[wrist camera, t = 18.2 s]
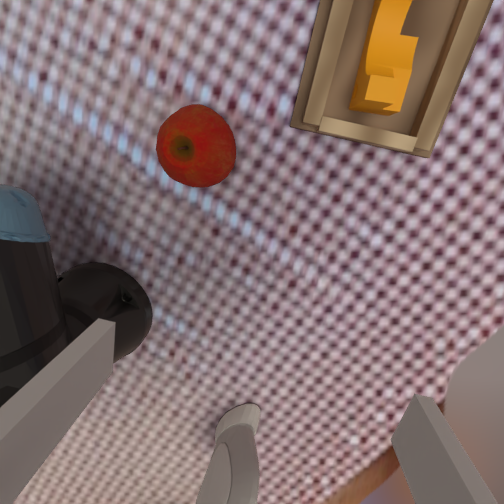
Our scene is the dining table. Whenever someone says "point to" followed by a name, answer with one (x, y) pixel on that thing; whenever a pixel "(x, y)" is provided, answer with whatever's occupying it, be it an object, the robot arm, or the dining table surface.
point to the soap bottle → (233, 460)
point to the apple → (196, 146)
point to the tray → (420, 83)
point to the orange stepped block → (384, 61)
